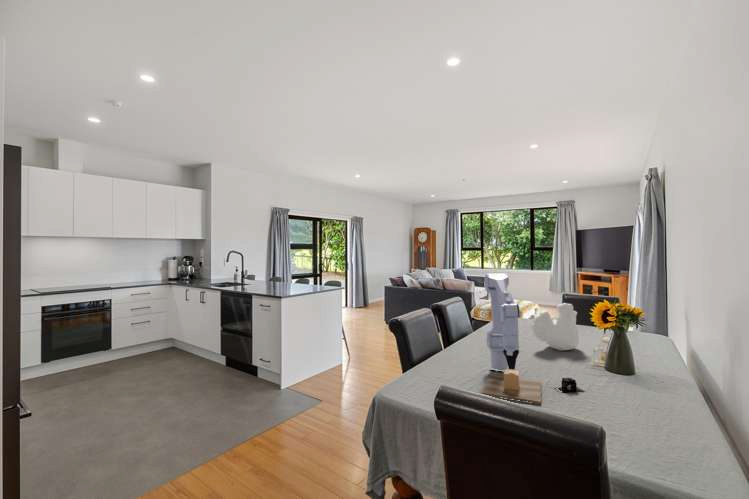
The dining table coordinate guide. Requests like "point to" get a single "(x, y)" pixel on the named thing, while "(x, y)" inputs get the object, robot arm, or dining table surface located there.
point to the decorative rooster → (557, 328)
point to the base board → (526, 392)
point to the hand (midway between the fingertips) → (511, 368)
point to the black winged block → (567, 388)
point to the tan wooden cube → (511, 379)
